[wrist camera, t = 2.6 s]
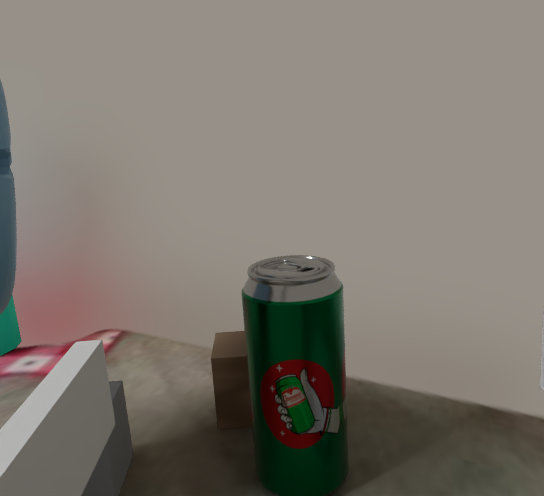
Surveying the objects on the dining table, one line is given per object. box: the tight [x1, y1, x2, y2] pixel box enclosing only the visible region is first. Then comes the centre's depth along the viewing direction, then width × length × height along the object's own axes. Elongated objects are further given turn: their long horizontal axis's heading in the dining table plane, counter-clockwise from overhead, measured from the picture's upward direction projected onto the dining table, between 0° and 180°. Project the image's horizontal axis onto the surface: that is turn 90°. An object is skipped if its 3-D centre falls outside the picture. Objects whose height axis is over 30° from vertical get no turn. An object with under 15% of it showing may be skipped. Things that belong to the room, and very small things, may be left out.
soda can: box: [242, 255, 348, 496], centre depth 26 cm, size 5×5×12 cm
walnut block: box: [211, 331, 252, 429], centre depth 34 cm, size 4×4×5 cm
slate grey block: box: [81, 381, 133, 496], centre depth 28 cm, size 4×4×5 cm
